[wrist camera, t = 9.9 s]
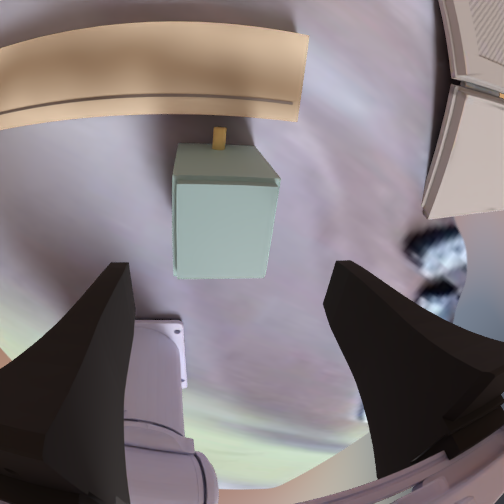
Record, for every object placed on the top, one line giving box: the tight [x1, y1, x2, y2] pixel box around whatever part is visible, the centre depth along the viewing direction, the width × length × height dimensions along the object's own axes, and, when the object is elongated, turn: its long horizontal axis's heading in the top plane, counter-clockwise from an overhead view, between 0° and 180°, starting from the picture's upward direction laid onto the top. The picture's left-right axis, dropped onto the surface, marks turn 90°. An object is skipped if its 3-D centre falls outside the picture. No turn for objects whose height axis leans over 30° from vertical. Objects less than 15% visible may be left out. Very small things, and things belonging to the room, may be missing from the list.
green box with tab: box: [172, 127, 281, 279], centre depth 16 cm, size 6×4×6 cm
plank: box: [0, 21, 309, 130], centre depth 13 cm, size 5×22×2 cm, turn 84°
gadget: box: [421, 0, 504, 220], centre depth 17 cm, size 23×15×4 cm, turn 3°
